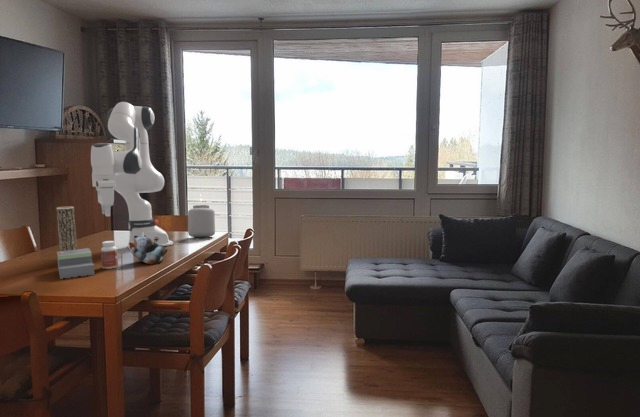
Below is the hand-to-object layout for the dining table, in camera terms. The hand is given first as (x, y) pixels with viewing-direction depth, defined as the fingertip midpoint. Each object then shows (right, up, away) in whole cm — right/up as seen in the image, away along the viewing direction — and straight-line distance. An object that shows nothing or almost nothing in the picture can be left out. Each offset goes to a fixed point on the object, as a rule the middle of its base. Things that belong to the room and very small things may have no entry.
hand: (106, 215), depth 199 cm
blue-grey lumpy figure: (+14, -21, +12) cm, 28 cm away
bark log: (-22, -22, +13) cm, 34 cm away
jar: (+22, -14, +73) cm, 78 cm away
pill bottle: (0, -22, +3) cm, 23 cm away
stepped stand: (-10, -23, -5) cm, 26 cm away
